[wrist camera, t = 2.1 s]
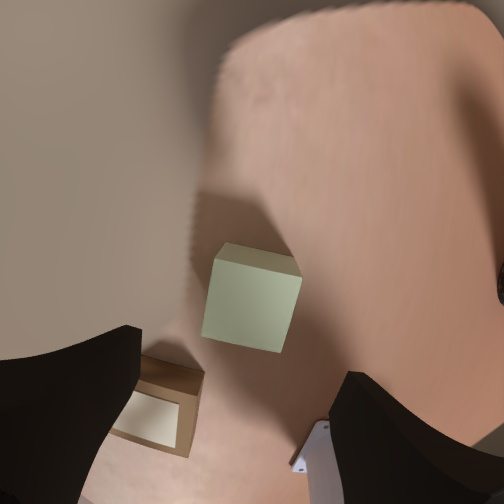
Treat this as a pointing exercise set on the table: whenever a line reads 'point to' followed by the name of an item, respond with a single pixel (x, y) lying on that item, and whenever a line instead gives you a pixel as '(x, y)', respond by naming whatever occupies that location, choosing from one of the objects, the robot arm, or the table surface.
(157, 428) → the base block
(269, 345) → the cube
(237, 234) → the table surface
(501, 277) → the deodorant
